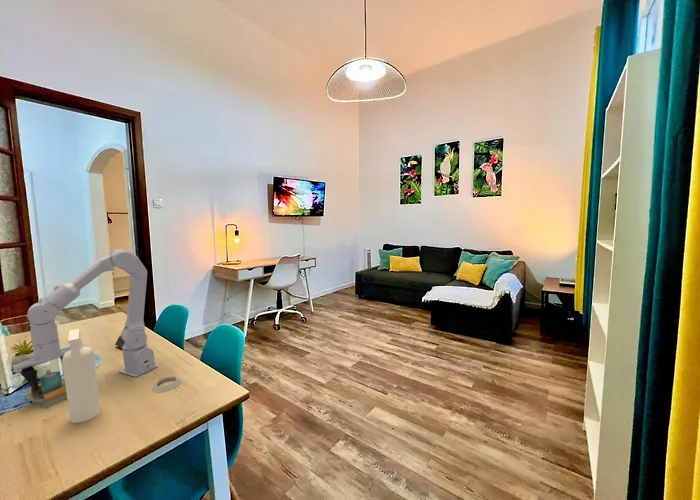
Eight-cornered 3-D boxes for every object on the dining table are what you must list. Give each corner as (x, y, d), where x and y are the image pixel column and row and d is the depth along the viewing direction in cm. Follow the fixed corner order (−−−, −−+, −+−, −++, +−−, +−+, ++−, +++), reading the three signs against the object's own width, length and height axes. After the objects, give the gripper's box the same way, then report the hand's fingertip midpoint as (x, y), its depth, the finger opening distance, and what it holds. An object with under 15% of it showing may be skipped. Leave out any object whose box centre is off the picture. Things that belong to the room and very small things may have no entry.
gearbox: (90, 388, 97) (89, 378, 97) (45, 408, 87) (44, 397, 87) (70, 380, 102) (68, 371, 102) (25, 399, 92) (23, 388, 92)
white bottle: (103, 397, 92) (90, 320, 88) (102, 419, 82) (87, 334, 78) (73, 407, 88) (58, 326, 84) (69, 431, 78) (52, 342, 74)
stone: (112, 352, 123) (110, 340, 123) (120, 340, 135) (119, 329, 134) (132, 349, 126) (130, 337, 125) (138, 337, 138) (137, 326, 137)
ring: (155, 382, 101) (155, 377, 101) (183, 377, 104) (183, 372, 104) (148, 396, 93) (147, 391, 93) (179, 390, 96) (178, 385, 96)
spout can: (64, 388, 94) (62, 369, 94) (45, 396, 90) (42, 376, 90) (59, 384, 97) (56, 366, 96) (39, 392, 93) (36, 372, 92)
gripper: (68, 330, 100) (73, 369, 101) (5, 349, 86) (12, 393, 88) (80, 333, 97) (85, 373, 98) (17, 353, 84) (24, 398, 85)
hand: (51, 383), depth 93 cm, fingers open, 7 cm apart
